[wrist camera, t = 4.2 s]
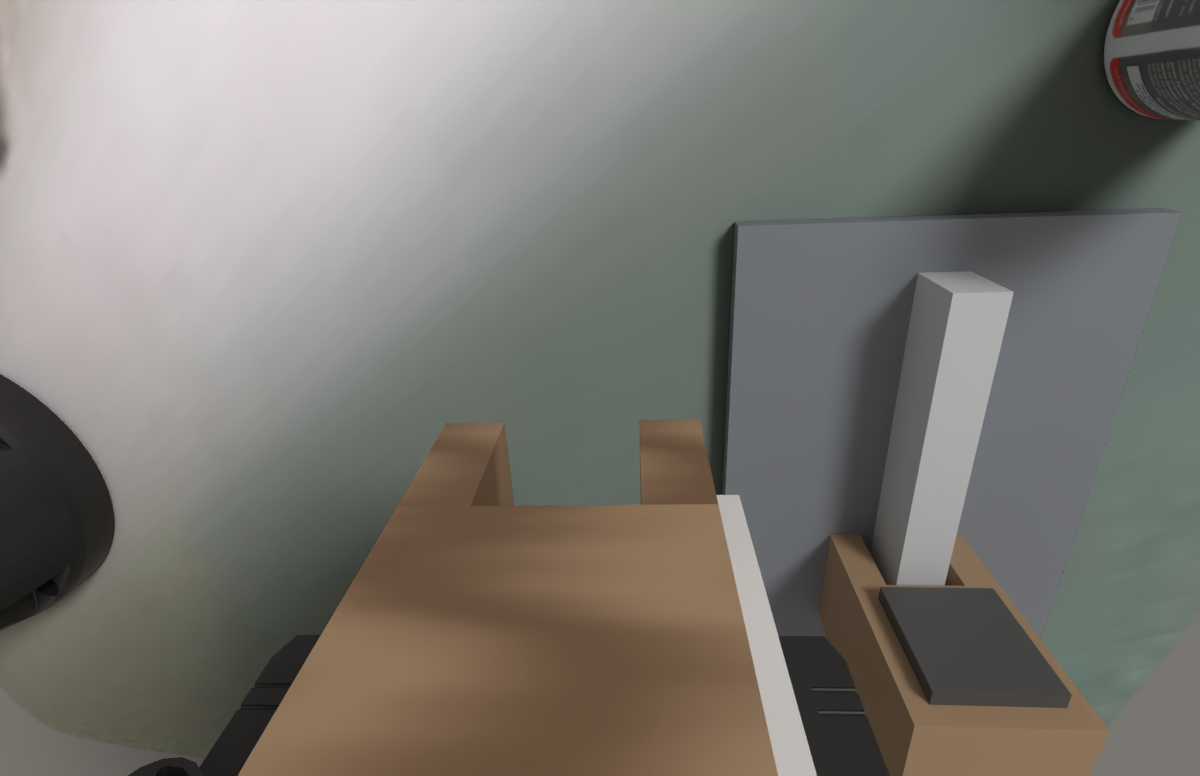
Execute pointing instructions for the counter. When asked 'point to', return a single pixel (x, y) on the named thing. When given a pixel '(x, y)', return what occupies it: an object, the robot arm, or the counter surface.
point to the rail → (851, 378)
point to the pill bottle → (1155, 57)
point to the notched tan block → (533, 633)
